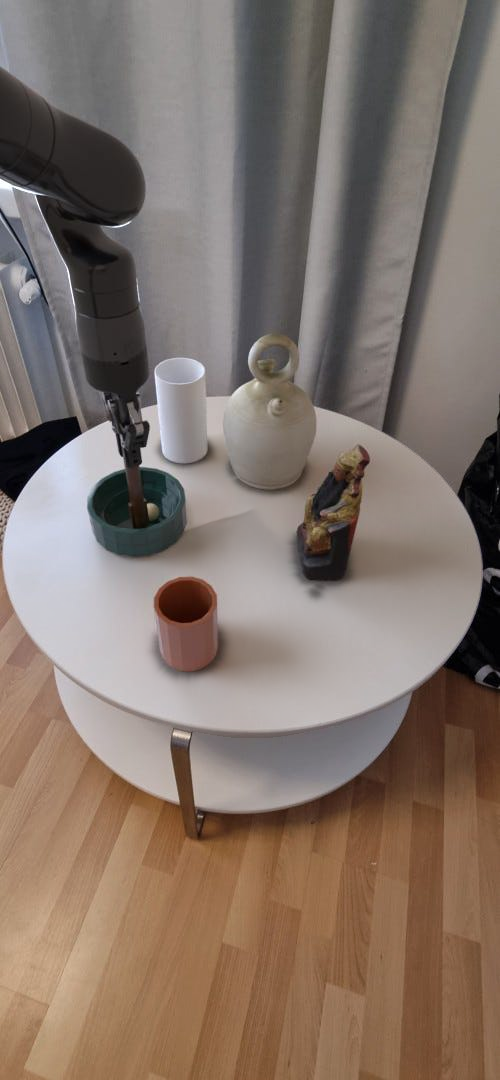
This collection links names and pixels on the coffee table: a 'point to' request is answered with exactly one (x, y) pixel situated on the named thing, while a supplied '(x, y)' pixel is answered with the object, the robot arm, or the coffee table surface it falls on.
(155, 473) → the bowl
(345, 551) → the statue
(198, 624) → the crock
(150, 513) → the dough ball
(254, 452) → the jug
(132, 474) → the stick
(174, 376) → the cup
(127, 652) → the coffee table surface
